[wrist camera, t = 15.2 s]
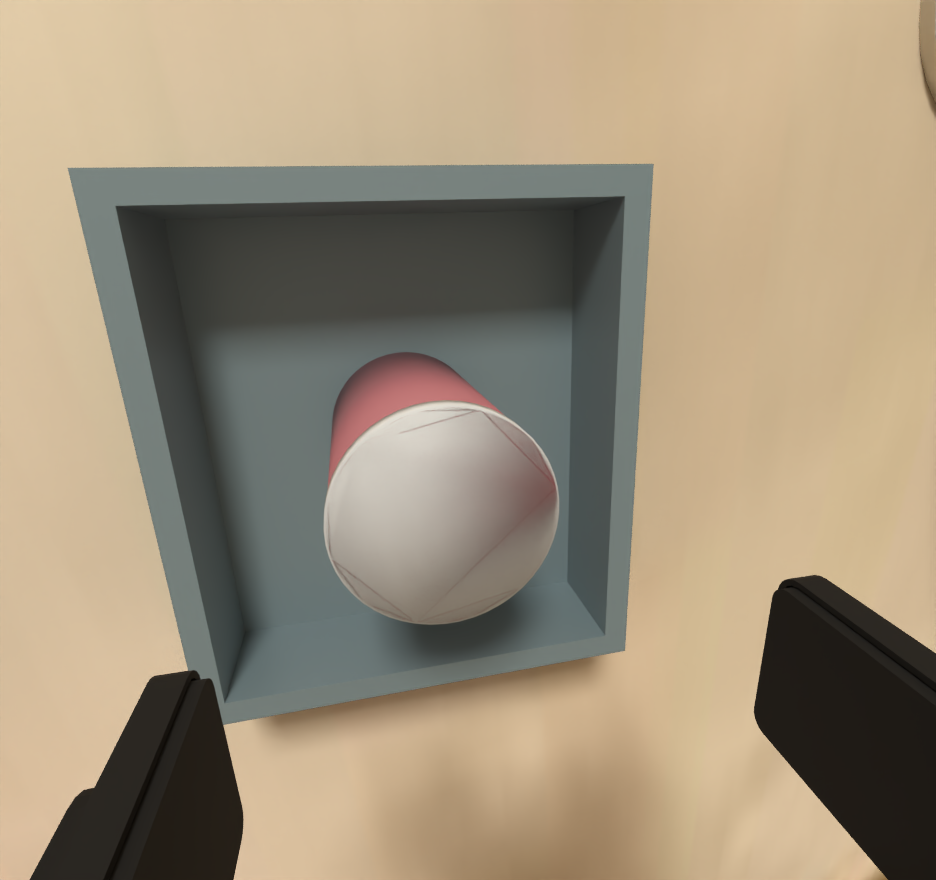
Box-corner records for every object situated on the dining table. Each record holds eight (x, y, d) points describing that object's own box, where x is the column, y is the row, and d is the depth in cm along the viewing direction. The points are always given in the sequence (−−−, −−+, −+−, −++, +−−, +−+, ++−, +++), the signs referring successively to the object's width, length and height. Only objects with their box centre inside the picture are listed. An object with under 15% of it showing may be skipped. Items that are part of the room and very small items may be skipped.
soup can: (480, 350, 24) (568, 402, 15) (475, 488, 26) (550, 612, 16) (327, 351, 22) (316, 408, 13) (334, 496, 24) (329, 636, 15)
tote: (587, 186, 24) (653, 163, 19) (577, 585, 30) (624, 650, 25) (138, 193, 20) (67, 167, 15) (230, 639, 27) (202, 728, 21)
